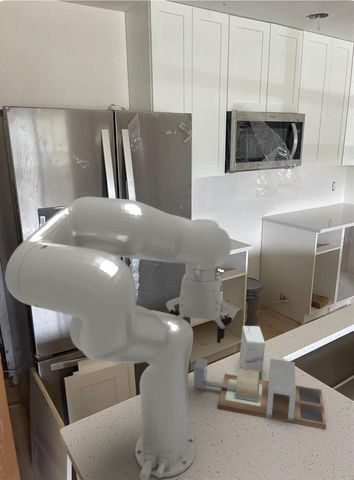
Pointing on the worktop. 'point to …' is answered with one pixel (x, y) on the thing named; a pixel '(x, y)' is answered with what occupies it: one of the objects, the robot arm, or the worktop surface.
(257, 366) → the ink box
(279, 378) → the tunnel
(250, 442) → the worktop surface
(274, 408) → the board
